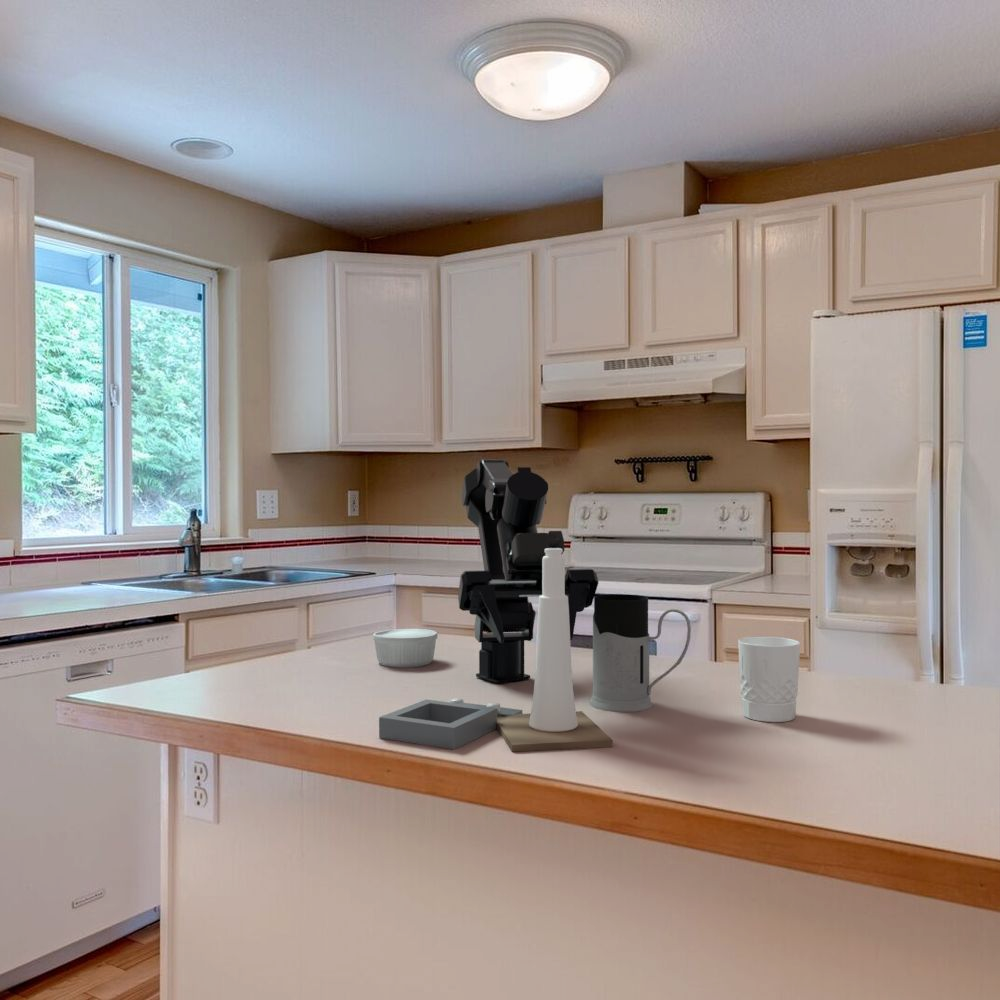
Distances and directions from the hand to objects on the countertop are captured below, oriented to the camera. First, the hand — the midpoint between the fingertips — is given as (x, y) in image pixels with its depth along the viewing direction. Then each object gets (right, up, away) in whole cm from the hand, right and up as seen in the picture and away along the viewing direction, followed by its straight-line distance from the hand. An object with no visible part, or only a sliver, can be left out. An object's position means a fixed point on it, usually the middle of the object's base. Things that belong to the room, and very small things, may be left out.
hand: (536, 639), depth 121 cm
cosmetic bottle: (+2, -10, -7) cm, 12 cm away
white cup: (+31, -11, +1) cm, 33 cm away
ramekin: (-21, -10, +39) cm, 46 cm away
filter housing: (-11, -11, -4) cm, 15 cm away
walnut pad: (+1, -10, -7) cm, 13 cm away
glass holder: (+15, -10, +7) cm, 19 cm away
